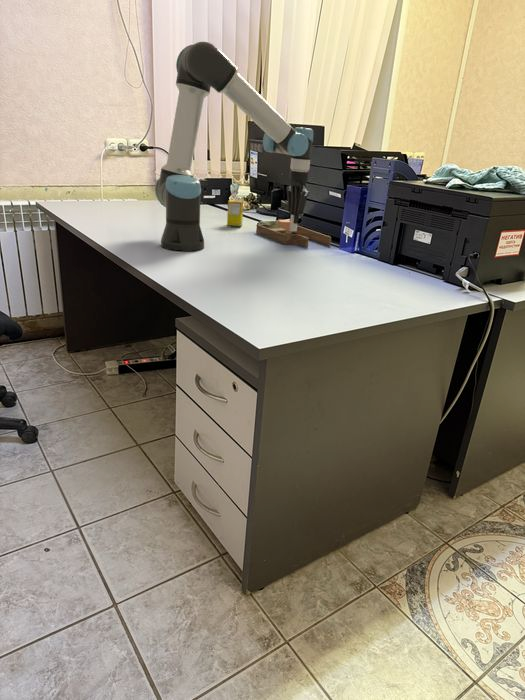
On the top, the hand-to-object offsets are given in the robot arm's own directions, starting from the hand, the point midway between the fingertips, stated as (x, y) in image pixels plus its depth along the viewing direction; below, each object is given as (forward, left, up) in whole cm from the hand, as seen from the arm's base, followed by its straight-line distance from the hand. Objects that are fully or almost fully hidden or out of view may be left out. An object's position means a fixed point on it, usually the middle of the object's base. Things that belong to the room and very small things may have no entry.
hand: (293, 230), depth 207 cm
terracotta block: (+2, +9, -3) cm, 10 cm away
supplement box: (-13, +26, -3) cm, 29 cm away
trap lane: (-2, 0, -3) cm, 4 cm away
